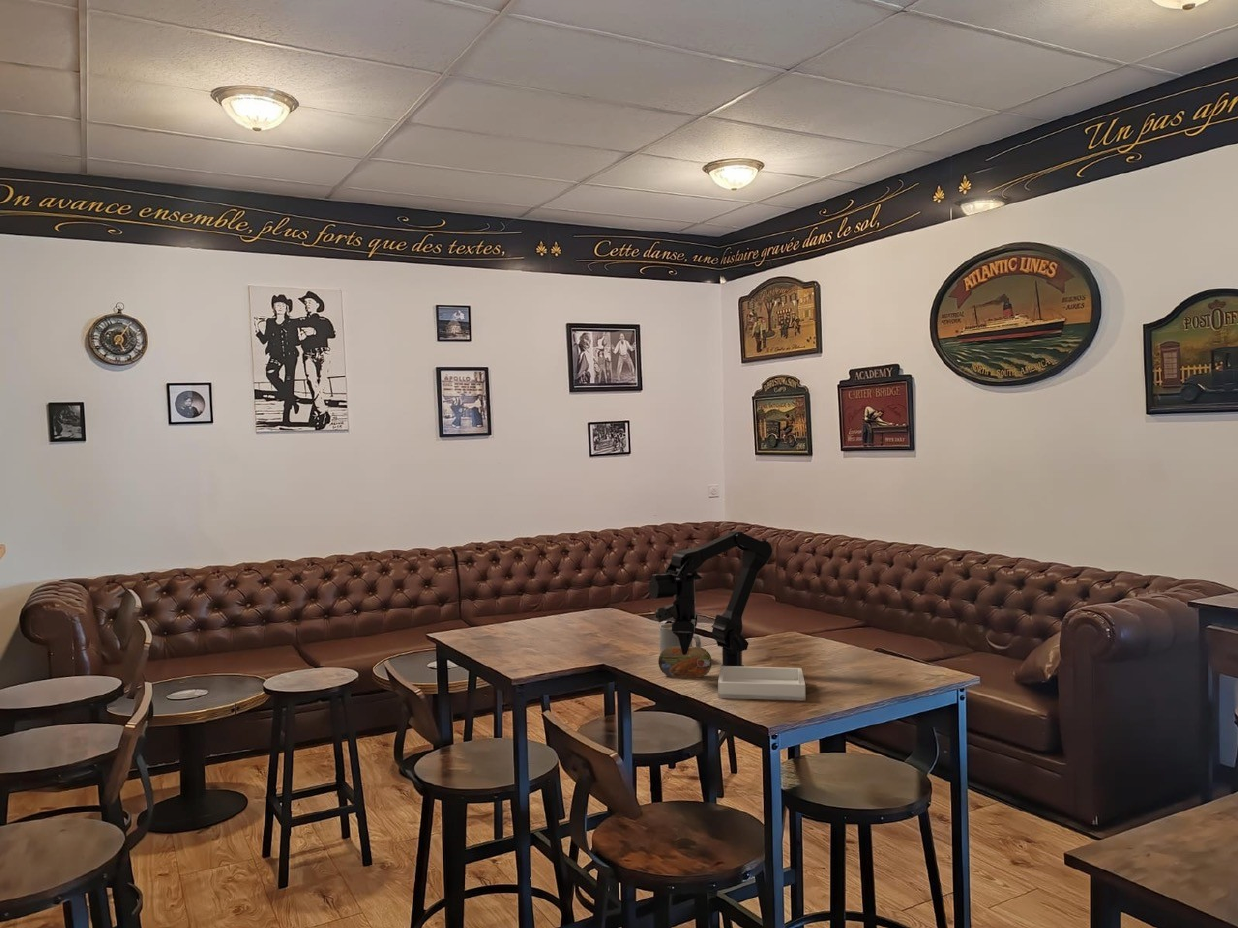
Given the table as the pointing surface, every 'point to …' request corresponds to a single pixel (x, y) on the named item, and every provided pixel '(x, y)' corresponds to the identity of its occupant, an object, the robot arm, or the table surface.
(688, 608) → the robot arm
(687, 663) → the tin
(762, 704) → the table surface
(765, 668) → the tray
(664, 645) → the coffee mug
